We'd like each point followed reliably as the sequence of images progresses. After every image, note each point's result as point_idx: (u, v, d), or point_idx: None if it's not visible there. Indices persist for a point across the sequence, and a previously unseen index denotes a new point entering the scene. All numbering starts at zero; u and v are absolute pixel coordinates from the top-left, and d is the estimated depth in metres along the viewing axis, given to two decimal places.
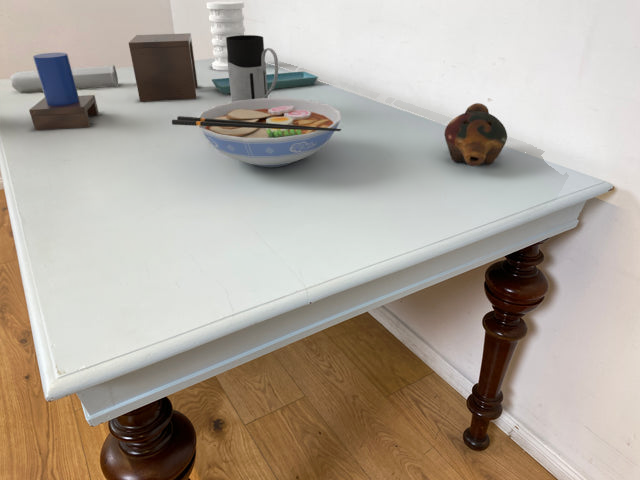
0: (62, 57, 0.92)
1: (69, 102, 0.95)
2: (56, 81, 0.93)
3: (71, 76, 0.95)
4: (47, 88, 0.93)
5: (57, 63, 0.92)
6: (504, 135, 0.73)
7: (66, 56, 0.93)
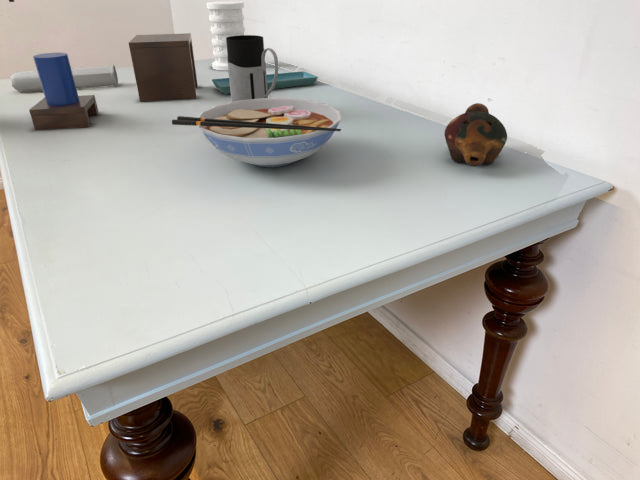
0: (62, 57, 0.92)
1: (69, 102, 0.95)
2: (56, 81, 0.93)
3: (71, 76, 0.95)
4: (47, 88, 0.93)
5: (57, 63, 0.92)
6: (504, 135, 0.73)
7: (66, 56, 0.93)
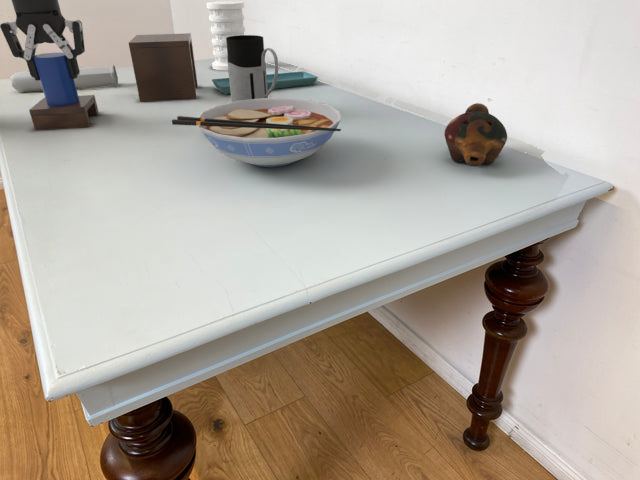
0: (62, 57, 0.92)
1: (69, 102, 0.95)
2: (56, 81, 0.93)
3: None
4: (47, 88, 0.93)
5: (57, 63, 0.92)
6: (504, 135, 0.73)
7: (66, 56, 0.93)
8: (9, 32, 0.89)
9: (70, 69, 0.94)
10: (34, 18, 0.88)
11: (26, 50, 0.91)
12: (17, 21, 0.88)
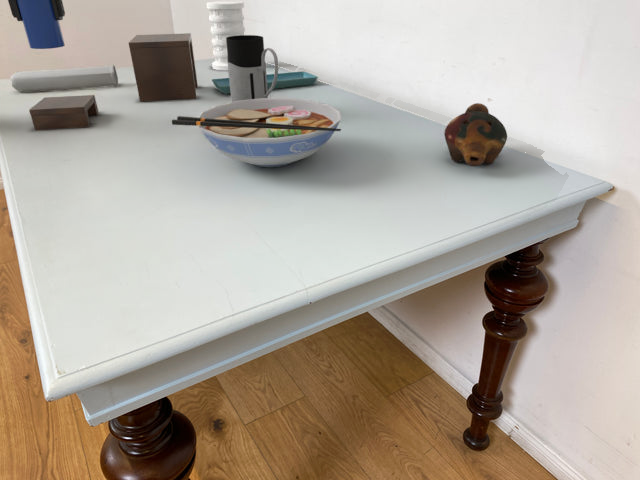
0: None
1: (53, 45, 0.90)
2: (40, 21, 0.87)
3: None
4: (30, 29, 0.88)
5: (41, 2, 0.86)
6: (504, 135, 0.73)
7: None
8: None
9: (54, 9, 0.88)
10: None
11: None
12: None
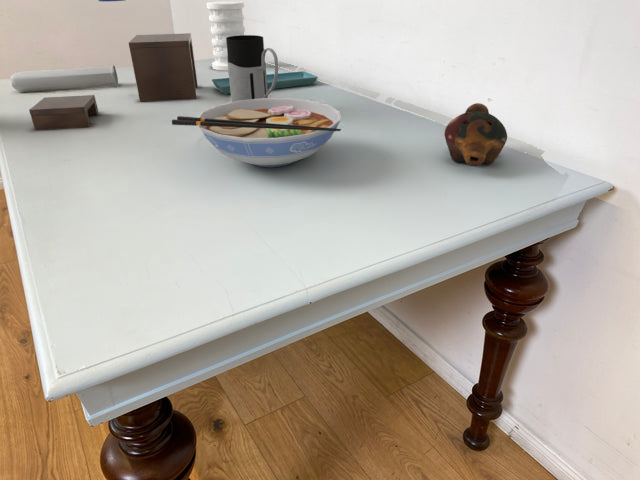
0: None
1: None
2: None
3: None
4: None
5: None
6: (504, 135, 0.73)
7: None
8: None
9: None
10: None
11: None
12: None
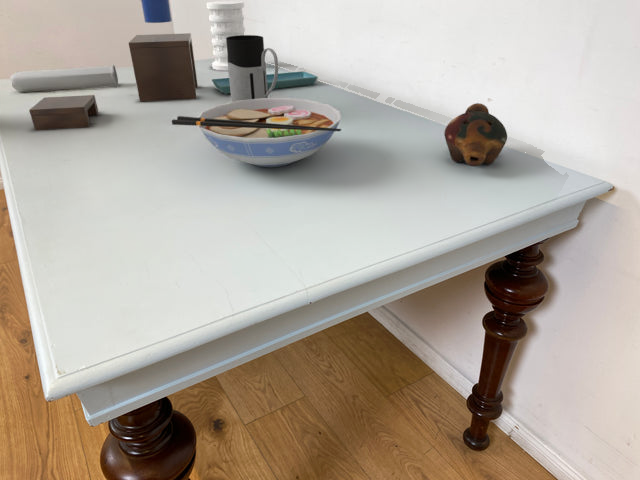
0: None
1: (165, 20, 1.09)
2: None
3: None
4: (148, 6, 1.07)
5: None
6: (504, 135, 0.73)
7: None
8: None
9: None
10: None
11: None
12: None
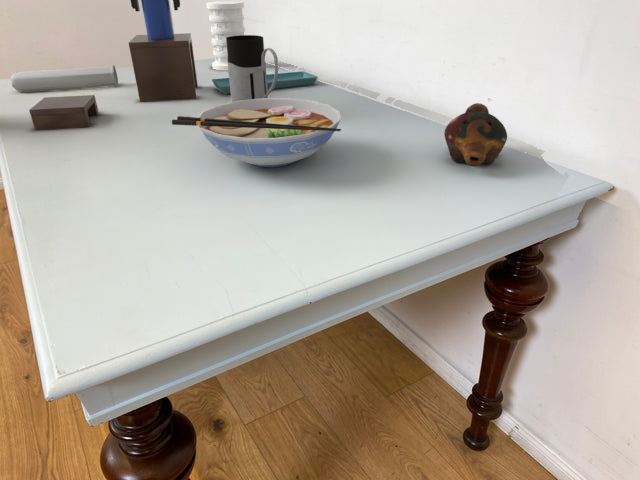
0: None
1: (168, 37, 1.11)
2: (159, 17, 1.08)
3: (170, 14, 1.10)
4: (151, 23, 1.09)
5: (161, 1, 1.07)
6: (504, 135, 0.73)
7: None
8: None
9: (174, 1, 1.09)
10: None
11: None
12: None
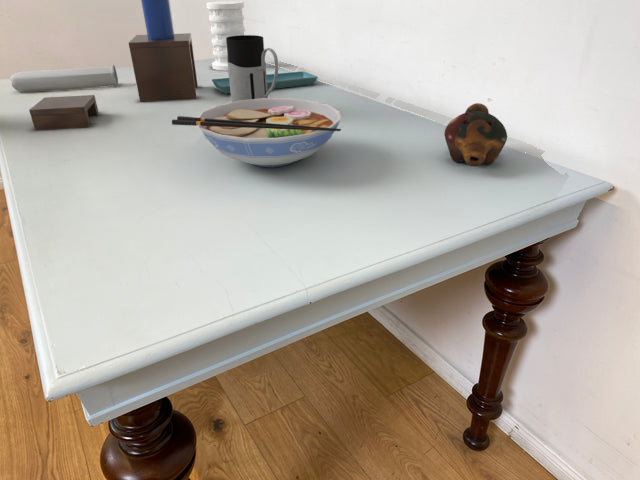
0: None
1: (168, 37, 1.11)
2: (159, 17, 1.08)
3: (170, 14, 1.10)
4: (151, 23, 1.09)
5: (161, 1, 1.07)
6: (504, 135, 0.73)
7: None
8: None
9: None
10: None
11: None
12: None
